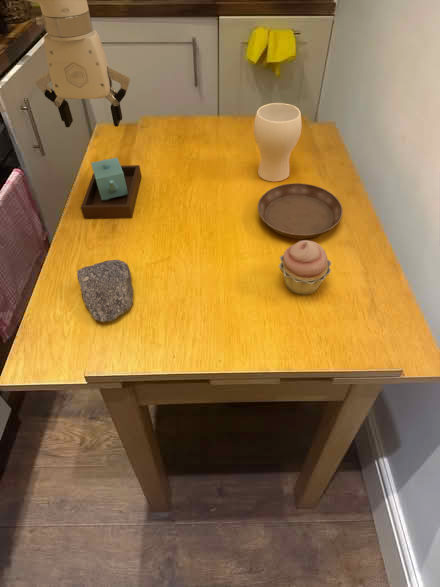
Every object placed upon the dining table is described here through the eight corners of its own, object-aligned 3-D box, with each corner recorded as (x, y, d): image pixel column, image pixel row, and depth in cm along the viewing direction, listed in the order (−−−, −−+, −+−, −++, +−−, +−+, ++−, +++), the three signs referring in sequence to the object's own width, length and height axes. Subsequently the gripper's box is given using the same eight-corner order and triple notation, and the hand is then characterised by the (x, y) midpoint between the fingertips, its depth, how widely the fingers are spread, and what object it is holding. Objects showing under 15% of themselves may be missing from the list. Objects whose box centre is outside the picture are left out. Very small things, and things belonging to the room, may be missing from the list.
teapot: (132, 206, 92) (125, 176, 86) (105, 212, 90) (96, 182, 85) (121, 178, 99) (115, 149, 94) (96, 183, 98) (88, 155, 92)
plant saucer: (299, 257, 80) (301, 246, 78) (240, 215, 89) (240, 204, 87) (357, 221, 87) (360, 209, 85) (297, 185, 96) (298, 174, 94)
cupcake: (285, 259, 80) (291, 218, 72) (332, 273, 77) (343, 232, 69) (268, 292, 74) (272, 251, 67) (318, 308, 71) (328, 267, 64)
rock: (67, 271, 72) (118, 247, 75) (78, 289, 77) (126, 265, 79) (88, 318, 66) (144, 290, 68) (100, 335, 70) (151, 308, 73)
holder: (132, 218, 90) (129, 206, 87) (84, 219, 90) (80, 207, 88) (141, 176, 101) (139, 165, 98) (99, 177, 101) (95, 166, 99)
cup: (292, 160, 104) (299, 100, 93) (298, 184, 97) (307, 122, 85) (250, 162, 104) (252, 102, 93) (254, 186, 97) (256, 124, 85)
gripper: (10, 32, 67) (45, 133, 79) (116, 30, 66) (134, 132, 79) (25, 19, 72) (55, 116, 84) (123, 17, 71) (139, 115, 84)
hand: (93, 123), depth 82 cm, fingers open, 9 cm apart
